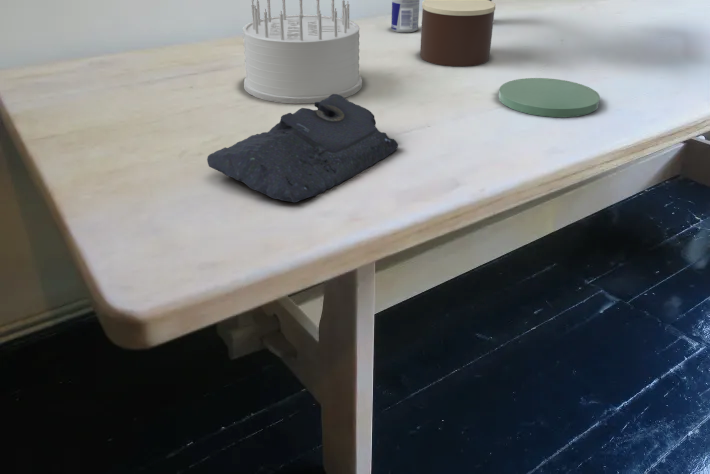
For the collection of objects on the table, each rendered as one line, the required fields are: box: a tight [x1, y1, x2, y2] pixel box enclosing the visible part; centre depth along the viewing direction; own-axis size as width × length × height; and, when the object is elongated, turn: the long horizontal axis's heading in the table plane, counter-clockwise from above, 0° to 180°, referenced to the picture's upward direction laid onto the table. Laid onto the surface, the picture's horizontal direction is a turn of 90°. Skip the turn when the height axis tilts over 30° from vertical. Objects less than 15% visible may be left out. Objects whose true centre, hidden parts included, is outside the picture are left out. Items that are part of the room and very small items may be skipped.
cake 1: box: [242, 0, 363, 105], centre depth 99 cm, size 18×18×13 cm
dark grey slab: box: [206, 94, 399, 203], centre depth 76 cm, size 15×22×5 cm
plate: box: [498, 77, 601, 118], centre depth 95 cm, size 14×14×1 cm
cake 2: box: [419, 0, 496, 67], centre depth 114 cm, size 12×12×9 cm
